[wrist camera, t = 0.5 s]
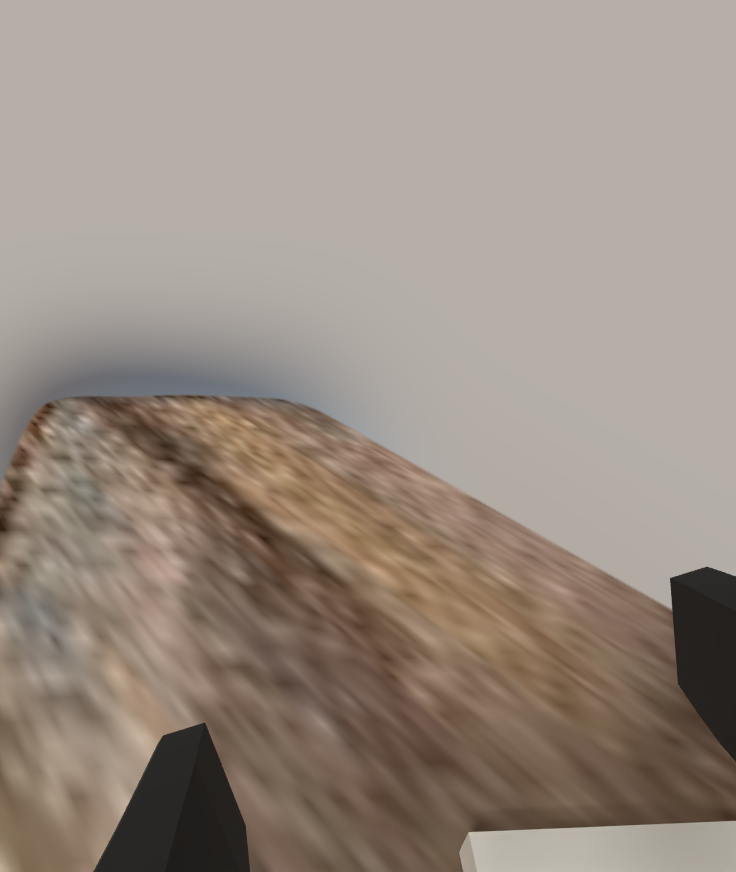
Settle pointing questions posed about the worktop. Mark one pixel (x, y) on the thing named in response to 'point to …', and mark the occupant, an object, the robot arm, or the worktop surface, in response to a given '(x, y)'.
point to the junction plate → (605, 849)
